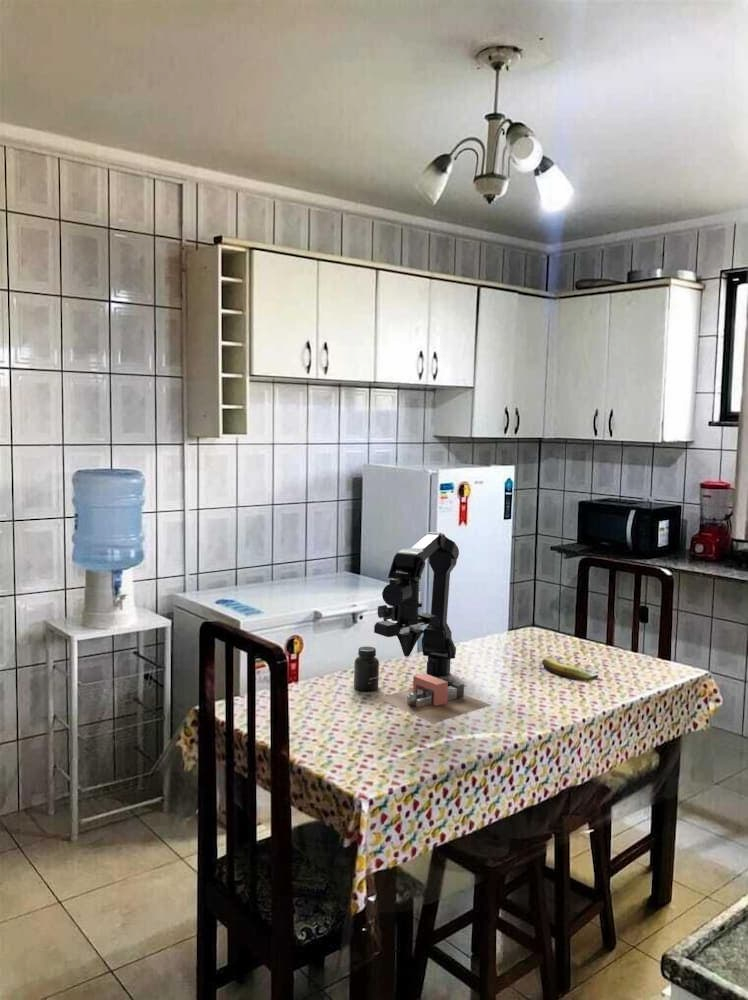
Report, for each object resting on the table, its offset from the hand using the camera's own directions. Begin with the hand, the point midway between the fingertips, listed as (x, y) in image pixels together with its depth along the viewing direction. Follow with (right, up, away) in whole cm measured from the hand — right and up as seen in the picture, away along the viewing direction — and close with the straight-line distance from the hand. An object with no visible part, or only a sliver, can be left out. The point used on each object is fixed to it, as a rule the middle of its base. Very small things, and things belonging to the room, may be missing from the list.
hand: (406, 656), depth 221 cm
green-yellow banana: (+49, -11, +28) cm, 58 cm away
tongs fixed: (+6, -12, +1) cm, 13 cm away
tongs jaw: (+9, -12, 0) cm, 15 cm away
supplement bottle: (-11, -12, +9) cm, 18 cm away
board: (+7, -13, 0) cm, 15 cm away
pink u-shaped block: (+6, -12, 0) cm, 13 cm away
